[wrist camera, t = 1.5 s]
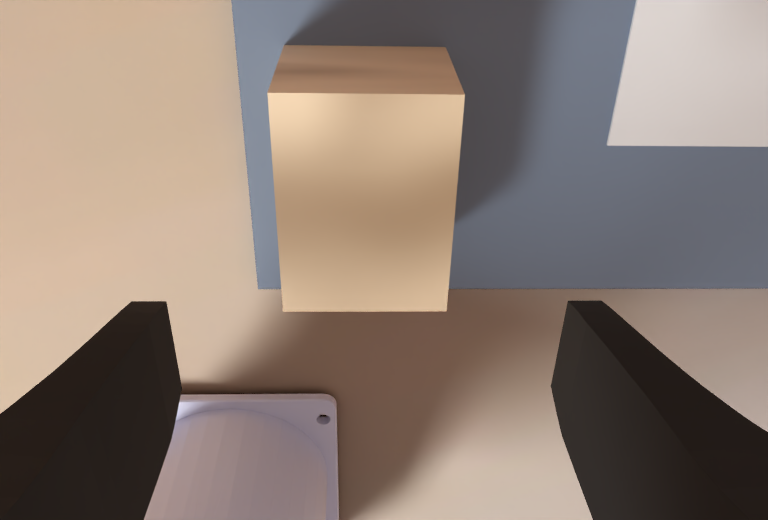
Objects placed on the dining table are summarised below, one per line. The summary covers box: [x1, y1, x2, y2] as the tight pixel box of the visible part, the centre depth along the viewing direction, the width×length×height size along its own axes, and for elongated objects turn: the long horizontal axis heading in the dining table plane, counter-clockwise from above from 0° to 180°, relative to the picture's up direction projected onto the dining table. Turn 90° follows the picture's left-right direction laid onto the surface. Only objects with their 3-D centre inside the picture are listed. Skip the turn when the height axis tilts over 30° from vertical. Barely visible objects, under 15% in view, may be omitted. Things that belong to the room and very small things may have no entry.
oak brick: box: [267, 45, 465, 312], centre depth 19 cm, size 6×4×4 cm
